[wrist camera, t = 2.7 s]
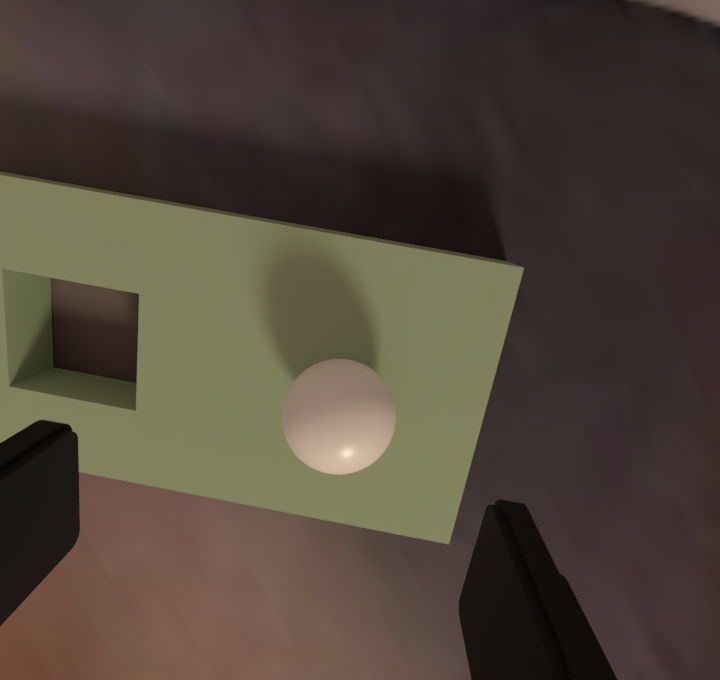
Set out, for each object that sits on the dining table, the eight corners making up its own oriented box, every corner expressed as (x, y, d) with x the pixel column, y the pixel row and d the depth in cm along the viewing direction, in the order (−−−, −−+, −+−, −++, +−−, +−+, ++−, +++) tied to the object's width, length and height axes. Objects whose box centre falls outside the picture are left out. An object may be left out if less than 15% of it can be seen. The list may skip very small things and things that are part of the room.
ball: (404, 355, 17) (407, 396, 13) (385, 447, 18) (383, 509, 14) (302, 336, 17) (275, 371, 13) (289, 429, 18) (261, 486, 14)
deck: (506, 261, 18) (523, 267, 16) (442, 507, 21) (448, 544, 19) (-21, 167, 19) (-82, 160, 16) (-3, 421, 22) (-52, 446, 20)
